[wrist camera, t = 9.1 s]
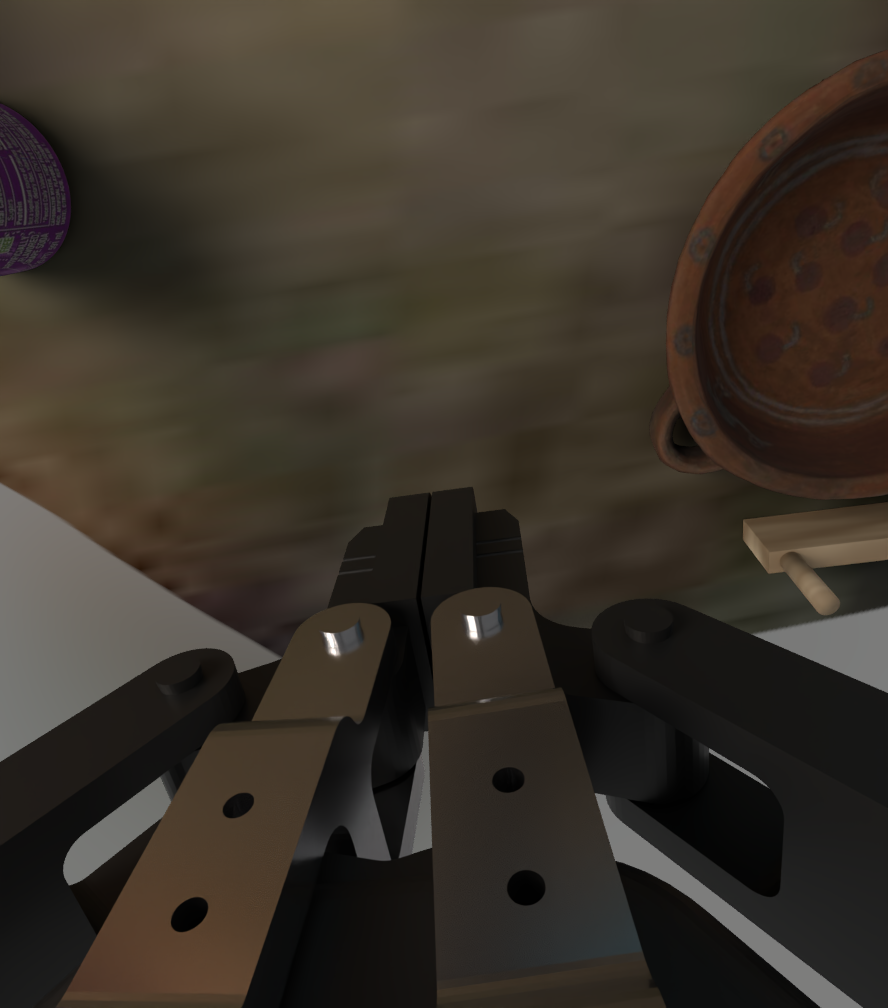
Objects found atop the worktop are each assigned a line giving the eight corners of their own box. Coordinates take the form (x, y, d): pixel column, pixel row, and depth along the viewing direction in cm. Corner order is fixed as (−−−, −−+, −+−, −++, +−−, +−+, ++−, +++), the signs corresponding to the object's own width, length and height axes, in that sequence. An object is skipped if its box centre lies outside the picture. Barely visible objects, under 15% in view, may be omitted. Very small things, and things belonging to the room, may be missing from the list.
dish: (531, 316, 34) (540, 338, 29) (965, -101, 27) (1066, -159, 22) (747, 548, 39) (784, 597, 34) (1163, 245, 32) (1279, 256, 27)
